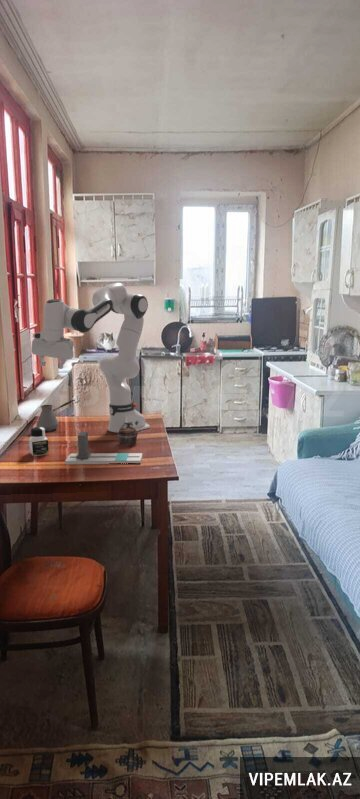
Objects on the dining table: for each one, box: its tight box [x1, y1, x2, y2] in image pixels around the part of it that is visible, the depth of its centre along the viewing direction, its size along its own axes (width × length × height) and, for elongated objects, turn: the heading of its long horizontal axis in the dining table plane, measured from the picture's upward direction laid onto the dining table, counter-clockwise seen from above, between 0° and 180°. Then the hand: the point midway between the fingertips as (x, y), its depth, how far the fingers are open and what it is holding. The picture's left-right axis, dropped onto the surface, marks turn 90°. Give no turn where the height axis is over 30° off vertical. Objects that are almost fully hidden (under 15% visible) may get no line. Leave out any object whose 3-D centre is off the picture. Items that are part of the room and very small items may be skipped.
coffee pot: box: [36, 398, 77, 432], centre depth 267 cm, size 21×12×15 cm, turn 115°
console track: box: [64, 452, 144, 465], centre depth 214 cm, size 32×10×2 cm, turn 89°
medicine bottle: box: [28, 426, 50, 457], centre depth 224 cm, size 7×7×12 cm
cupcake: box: [117, 422, 139, 447], centre depth 238 cm, size 10×10×10 cm
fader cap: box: [76, 431, 92, 459], centre depth 213 cm, size 5×7×10 cm
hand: (51, 367), depth 222 cm, fingers open, 8 cm apart
